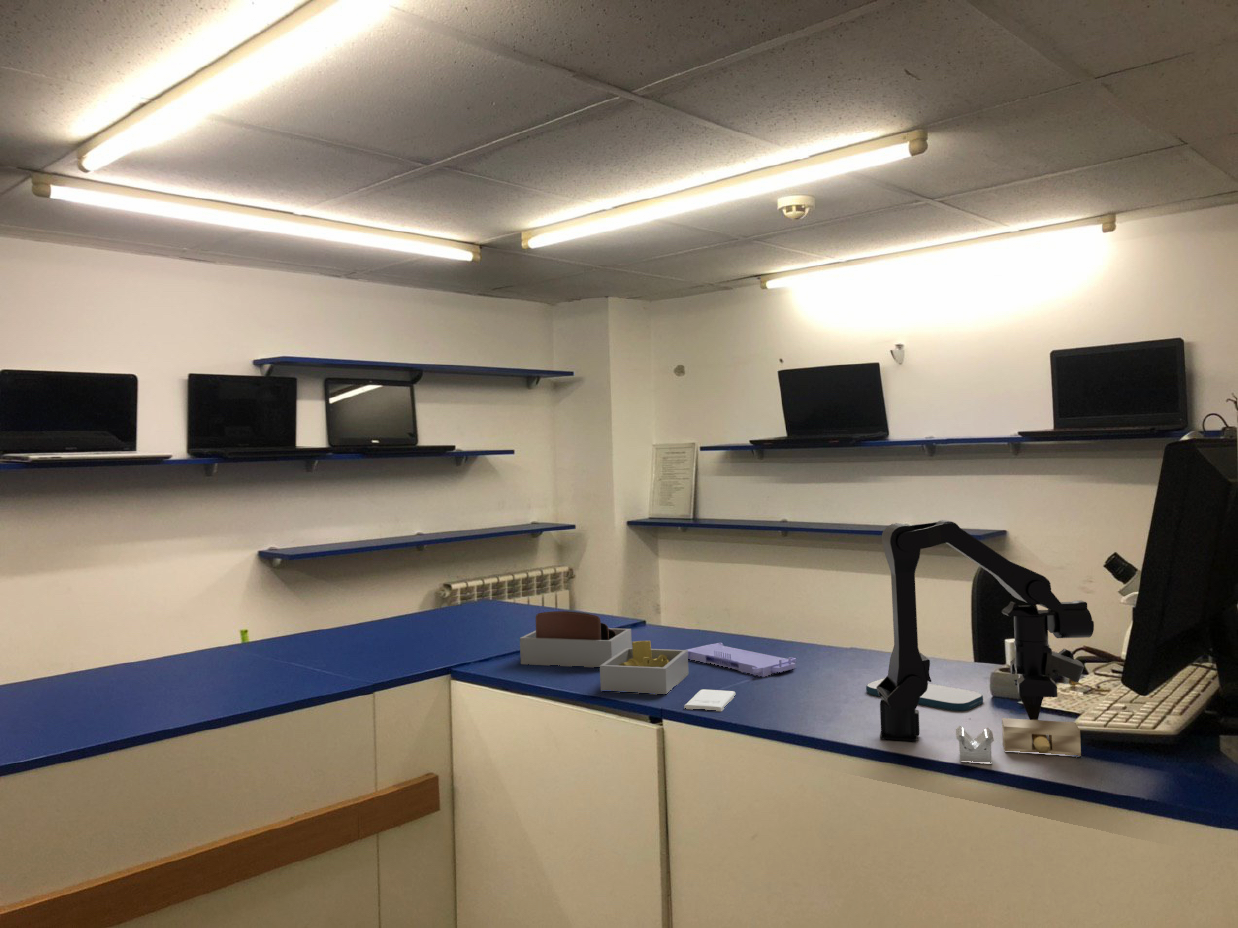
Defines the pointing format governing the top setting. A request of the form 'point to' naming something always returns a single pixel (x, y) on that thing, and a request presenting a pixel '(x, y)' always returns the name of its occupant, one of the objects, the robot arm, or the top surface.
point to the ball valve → (644, 656)
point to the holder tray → (572, 650)
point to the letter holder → (571, 626)
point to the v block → (975, 745)
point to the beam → (1060, 734)
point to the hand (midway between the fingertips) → (1033, 722)
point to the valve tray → (644, 672)
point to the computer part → (741, 659)
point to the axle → (1040, 742)
